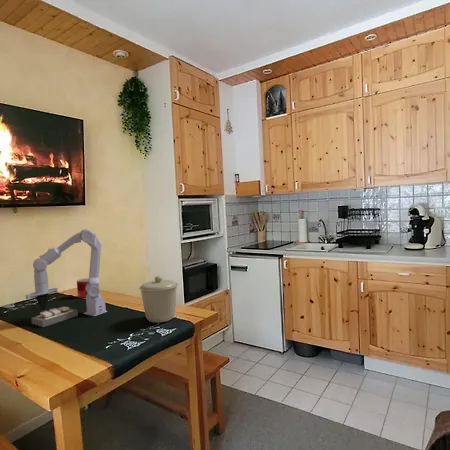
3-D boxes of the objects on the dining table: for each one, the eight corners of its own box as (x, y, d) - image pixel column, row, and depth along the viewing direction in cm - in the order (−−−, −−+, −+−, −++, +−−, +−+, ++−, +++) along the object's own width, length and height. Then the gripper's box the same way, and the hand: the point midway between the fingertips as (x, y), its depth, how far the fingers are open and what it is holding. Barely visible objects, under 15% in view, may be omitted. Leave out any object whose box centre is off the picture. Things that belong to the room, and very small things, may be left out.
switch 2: (60, 313, 167) (60, 310, 167) (54, 314, 165) (55, 312, 164) (54, 309, 170) (54, 307, 170) (49, 311, 167) (49, 309, 167)
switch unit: (77, 315, 172) (77, 309, 172) (42, 327, 157) (42, 320, 157) (66, 313, 178) (66, 307, 178) (31, 323, 163) (31, 317, 162)
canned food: (88, 298, 206) (87, 280, 206) (75, 299, 206) (74, 281, 206) (93, 295, 214) (92, 278, 213) (81, 295, 214) (80, 278, 213)
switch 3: (69, 309, 171) (68, 307, 171) (63, 311, 168) (63, 308, 168) (63, 308, 174) (63, 306, 174) (57, 310, 171) (57, 307, 171)
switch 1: (51, 315, 163) (52, 313, 163) (45, 317, 161) (45, 315, 161) (46, 312, 166) (46, 310, 166) (40, 314, 164) (40, 312, 163)
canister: (163, 311, 173) (160, 270, 172) (187, 317, 162) (185, 274, 161) (133, 321, 159) (130, 277, 158) (158, 328, 148) (155, 281, 147)
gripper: (51, 279, 172) (53, 304, 173) (21, 285, 160) (23, 313, 161) (59, 280, 168) (61, 306, 169) (29, 286, 156) (31, 315, 157)
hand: (43, 310), depth 164 cm, fingers closed
